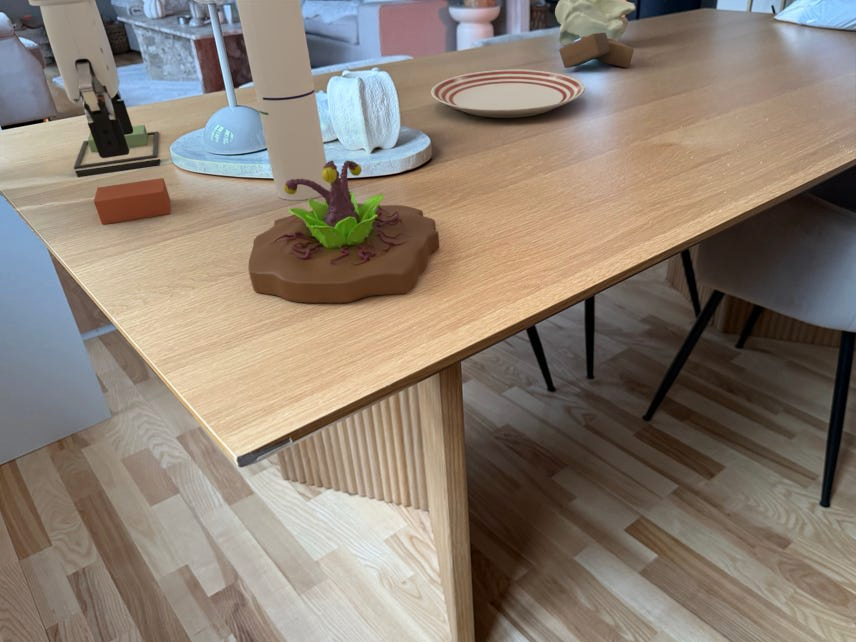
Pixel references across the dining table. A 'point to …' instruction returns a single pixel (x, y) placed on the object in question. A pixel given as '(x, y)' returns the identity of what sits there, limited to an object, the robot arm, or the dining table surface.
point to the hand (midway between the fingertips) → (118, 144)
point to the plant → (342, 246)
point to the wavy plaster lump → (591, 18)
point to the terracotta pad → (132, 201)
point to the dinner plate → (507, 92)
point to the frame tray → (117, 161)
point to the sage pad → (127, 138)
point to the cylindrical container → (284, 92)
